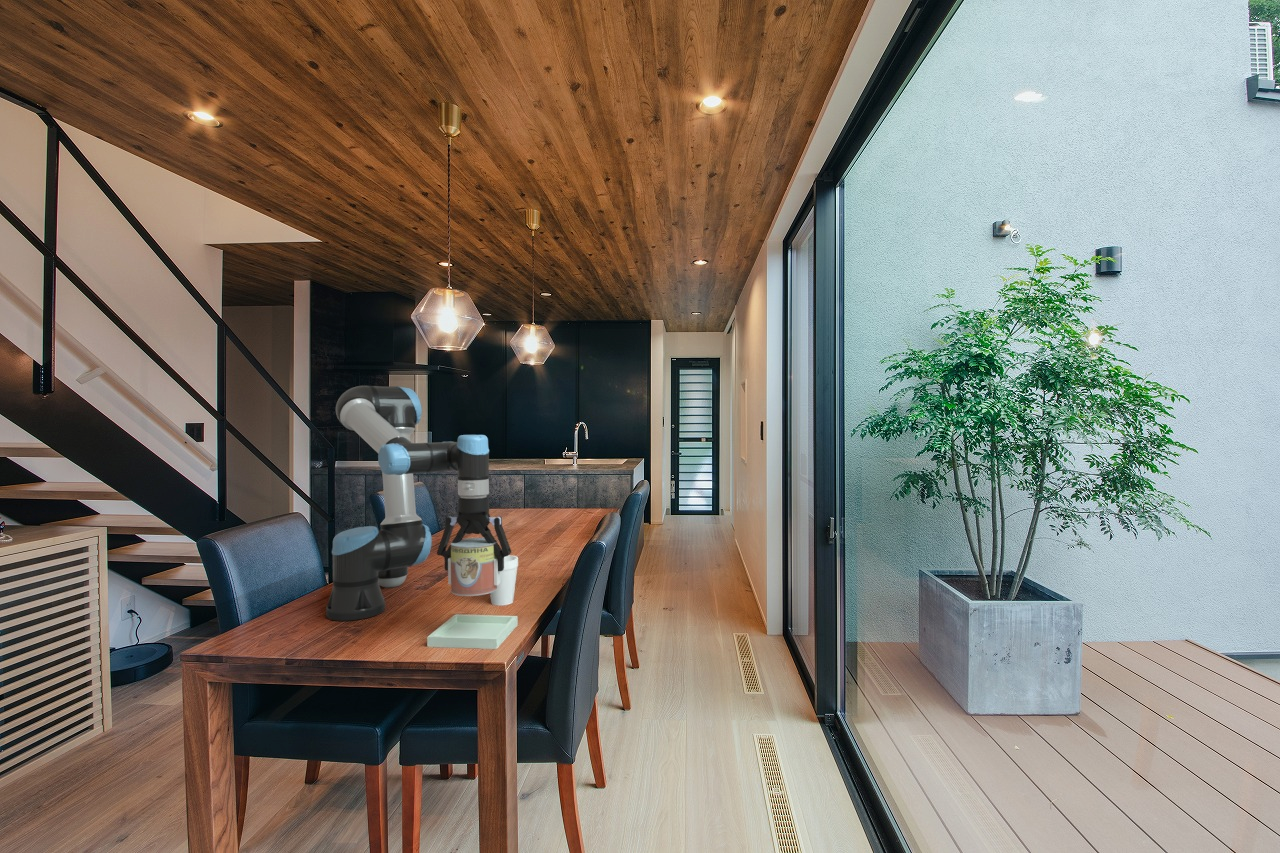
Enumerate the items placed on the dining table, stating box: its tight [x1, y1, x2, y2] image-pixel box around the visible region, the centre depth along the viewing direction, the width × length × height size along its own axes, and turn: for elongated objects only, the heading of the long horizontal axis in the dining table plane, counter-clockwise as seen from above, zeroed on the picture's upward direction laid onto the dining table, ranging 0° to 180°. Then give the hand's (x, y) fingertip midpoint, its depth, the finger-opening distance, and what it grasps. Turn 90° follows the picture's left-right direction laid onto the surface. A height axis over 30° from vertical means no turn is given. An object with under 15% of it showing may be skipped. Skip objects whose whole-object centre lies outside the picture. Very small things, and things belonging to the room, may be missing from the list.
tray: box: [426, 613, 519, 650], centre depth 155 cm, size 17×17×2 cm
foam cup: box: [489, 554, 519, 606], centre depth 183 cm, size 10×9×13 cm
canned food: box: [449, 537, 498, 597], centre depth 155 cm, size 11×11×12 cm
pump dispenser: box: [378, 567, 409, 589], centre depth 202 cm, size 10×10×15 cm
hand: (474, 583), depth 155 cm, fingers closed on canned food, 11 cm apart
